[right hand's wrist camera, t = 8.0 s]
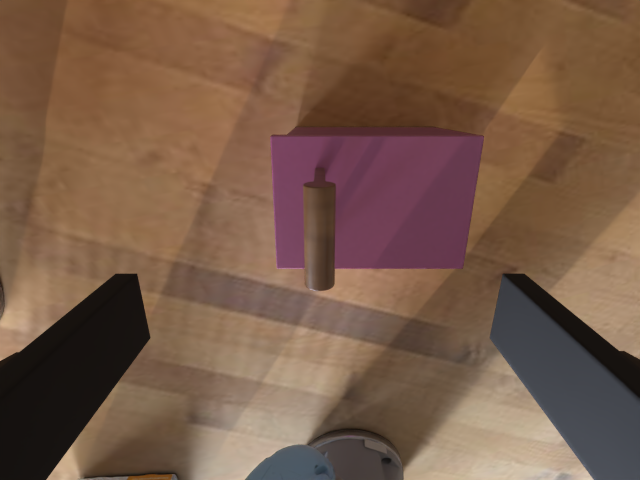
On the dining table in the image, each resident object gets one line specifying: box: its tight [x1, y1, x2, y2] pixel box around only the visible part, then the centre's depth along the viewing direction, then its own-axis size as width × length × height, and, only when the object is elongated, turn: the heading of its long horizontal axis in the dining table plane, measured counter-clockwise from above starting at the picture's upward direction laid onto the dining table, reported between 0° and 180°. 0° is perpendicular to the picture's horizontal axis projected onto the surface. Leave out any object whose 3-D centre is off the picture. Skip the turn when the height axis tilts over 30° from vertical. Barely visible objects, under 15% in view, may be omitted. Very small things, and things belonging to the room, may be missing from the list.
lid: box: [271, 135, 484, 291], centre depth 23 cm, size 15×10×8 cm
